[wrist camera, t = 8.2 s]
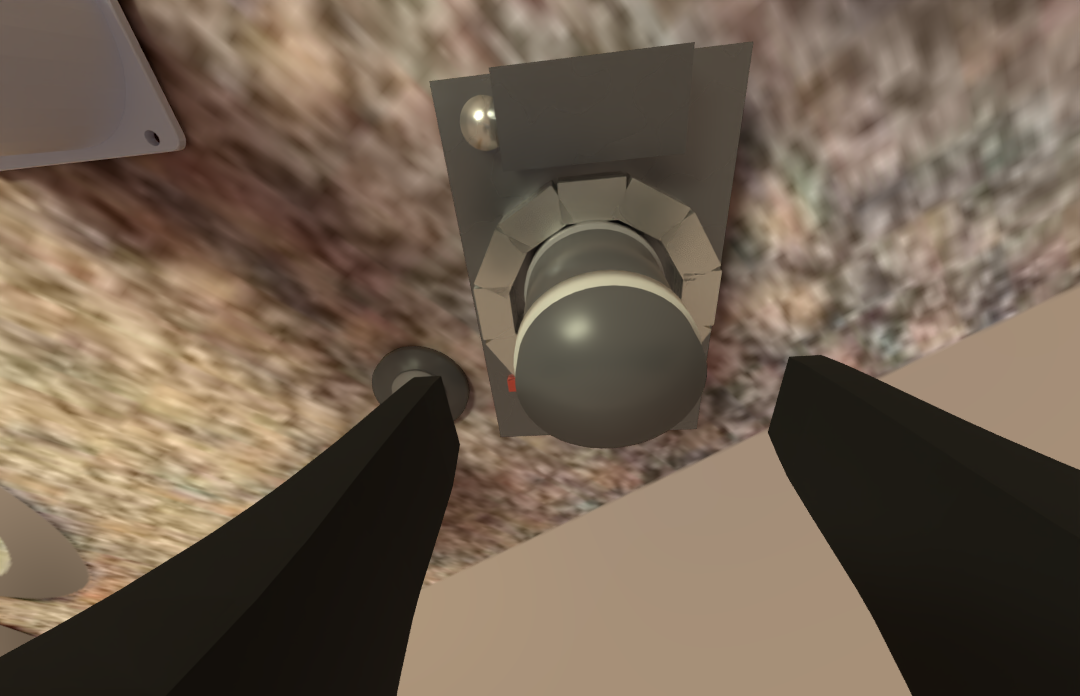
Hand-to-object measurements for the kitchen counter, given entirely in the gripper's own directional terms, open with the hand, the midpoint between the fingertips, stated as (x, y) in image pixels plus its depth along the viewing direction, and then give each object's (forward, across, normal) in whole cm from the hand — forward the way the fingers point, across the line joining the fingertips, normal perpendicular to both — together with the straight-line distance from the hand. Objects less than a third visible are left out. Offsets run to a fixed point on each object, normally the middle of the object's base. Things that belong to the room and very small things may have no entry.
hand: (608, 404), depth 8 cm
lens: (+7, 0, 0) cm, 7 cm away
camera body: (+10, 0, 0) cm, 10 cm away
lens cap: (+10, +9, +6) cm, 15 cm away
